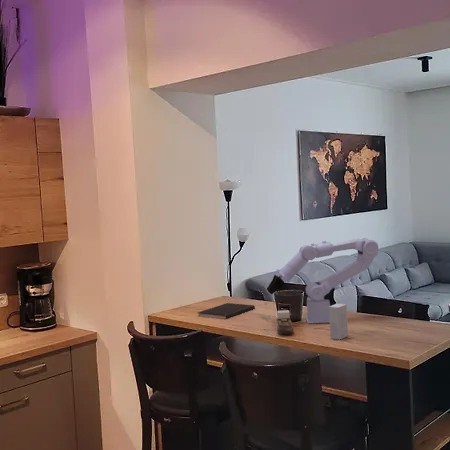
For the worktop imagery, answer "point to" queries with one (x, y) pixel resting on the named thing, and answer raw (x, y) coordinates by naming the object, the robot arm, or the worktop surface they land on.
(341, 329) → the skincare box
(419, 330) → the worktop surface
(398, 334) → the worktop surface
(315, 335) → the worktop surface
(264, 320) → the worktop surface
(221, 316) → the hardcover book
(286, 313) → the rider
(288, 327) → the beam
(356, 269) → the robot arm
